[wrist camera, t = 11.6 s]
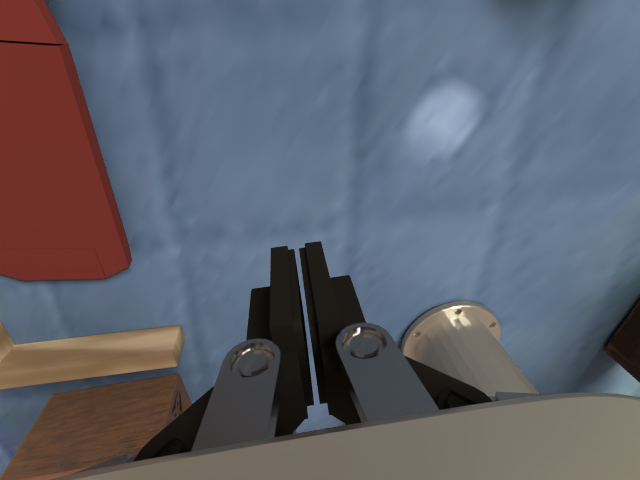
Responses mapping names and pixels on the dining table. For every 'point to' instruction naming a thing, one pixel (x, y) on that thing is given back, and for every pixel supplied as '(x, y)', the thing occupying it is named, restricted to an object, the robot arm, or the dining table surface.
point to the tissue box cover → (96, 426)
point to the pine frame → (87, 356)
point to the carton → (50, 159)
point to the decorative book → (627, 344)
